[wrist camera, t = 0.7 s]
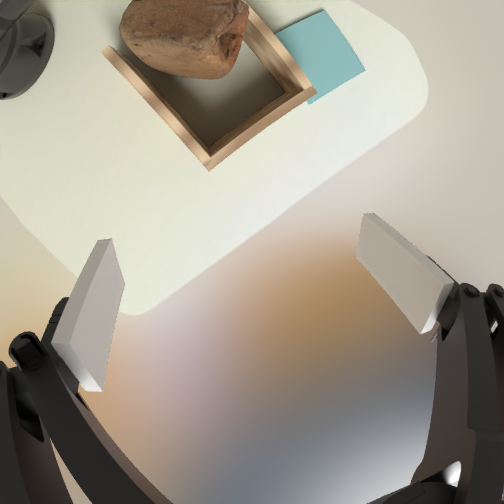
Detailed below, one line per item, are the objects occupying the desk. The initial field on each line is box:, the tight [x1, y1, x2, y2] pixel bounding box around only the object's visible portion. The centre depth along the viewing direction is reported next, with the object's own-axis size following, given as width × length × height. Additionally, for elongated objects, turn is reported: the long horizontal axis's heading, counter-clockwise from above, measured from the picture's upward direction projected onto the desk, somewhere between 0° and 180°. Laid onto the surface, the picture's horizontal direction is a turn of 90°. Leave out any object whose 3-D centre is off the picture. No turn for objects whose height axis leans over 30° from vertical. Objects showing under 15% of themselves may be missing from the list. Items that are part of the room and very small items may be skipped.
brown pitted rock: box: [119, 0, 250, 79], centre depth 22 cm, size 11×8×20 cm
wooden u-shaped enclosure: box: [101, 0, 317, 171], centre depth 28 cm, size 21×16×8 cm
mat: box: [274, 10, 365, 104], centre depth 32 cm, size 12×12×1 cm
